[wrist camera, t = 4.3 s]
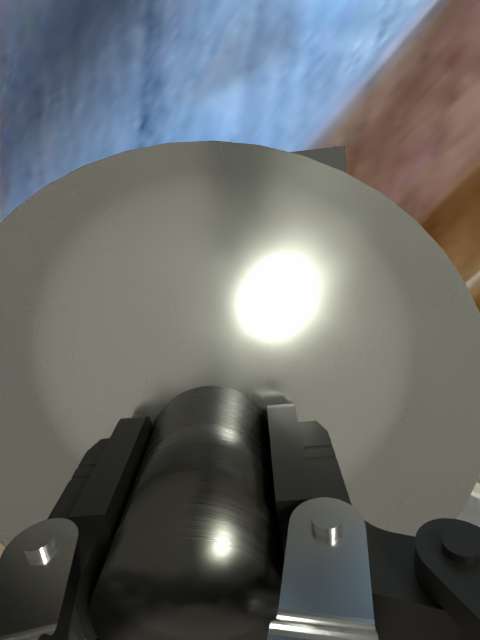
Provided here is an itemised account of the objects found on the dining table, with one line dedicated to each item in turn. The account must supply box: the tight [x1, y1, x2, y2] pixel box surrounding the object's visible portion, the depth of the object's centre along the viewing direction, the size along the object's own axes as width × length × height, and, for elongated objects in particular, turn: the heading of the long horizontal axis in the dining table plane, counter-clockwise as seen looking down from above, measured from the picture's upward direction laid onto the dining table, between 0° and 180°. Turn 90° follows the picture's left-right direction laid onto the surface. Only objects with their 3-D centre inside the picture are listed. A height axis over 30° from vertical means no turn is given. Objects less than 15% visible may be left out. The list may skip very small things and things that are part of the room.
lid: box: [0, 141, 480, 640], centre depth 10 cm, size 15×15×6 cm
